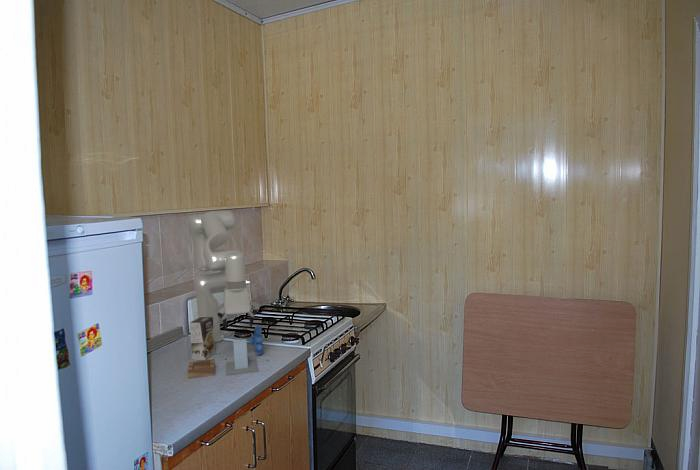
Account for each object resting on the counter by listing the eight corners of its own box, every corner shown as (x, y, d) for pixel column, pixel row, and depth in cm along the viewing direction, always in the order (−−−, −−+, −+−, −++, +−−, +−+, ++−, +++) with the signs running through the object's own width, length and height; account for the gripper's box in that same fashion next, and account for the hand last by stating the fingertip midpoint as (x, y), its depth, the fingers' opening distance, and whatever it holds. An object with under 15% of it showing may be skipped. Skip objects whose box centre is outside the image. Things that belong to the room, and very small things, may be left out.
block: (234, 364, 191) (233, 340, 190) (247, 363, 192) (245, 339, 191) (235, 369, 186) (233, 344, 185) (248, 367, 187) (246, 342, 186)
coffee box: (205, 360, 198) (203, 322, 197) (191, 359, 200) (188, 322, 198) (216, 352, 207) (213, 316, 206) (202, 352, 209) (199, 316, 207)
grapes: (249, 350, 209) (247, 323, 208) (264, 348, 210) (263, 321, 209) (249, 359, 198) (247, 330, 197) (265, 357, 199) (263, 329, 198)
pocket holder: (189, 369, 189) (189, 362, 188) (215, 366, 191) (214, 359, 191) (188, 378, 179) (187, 370, 179) (214, 375, 182) (214, 367, 181)
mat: (225, 363, 194) (225, 362, 194) (255, 359, 197) (255, 358, 197) (225, 375, 181) (225, 374, 181) (258, 371, 184) (258, 370, 184)
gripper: (257, 281, 192) (260, 322, 194) (213, 284, 187) (215, 326, 189) (259, 285, 184) (261, 327, 186) (212, 288, 180) (215, 332, 182)
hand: (238, 327), depth 188 cm, fingers open, 9 cm apart
